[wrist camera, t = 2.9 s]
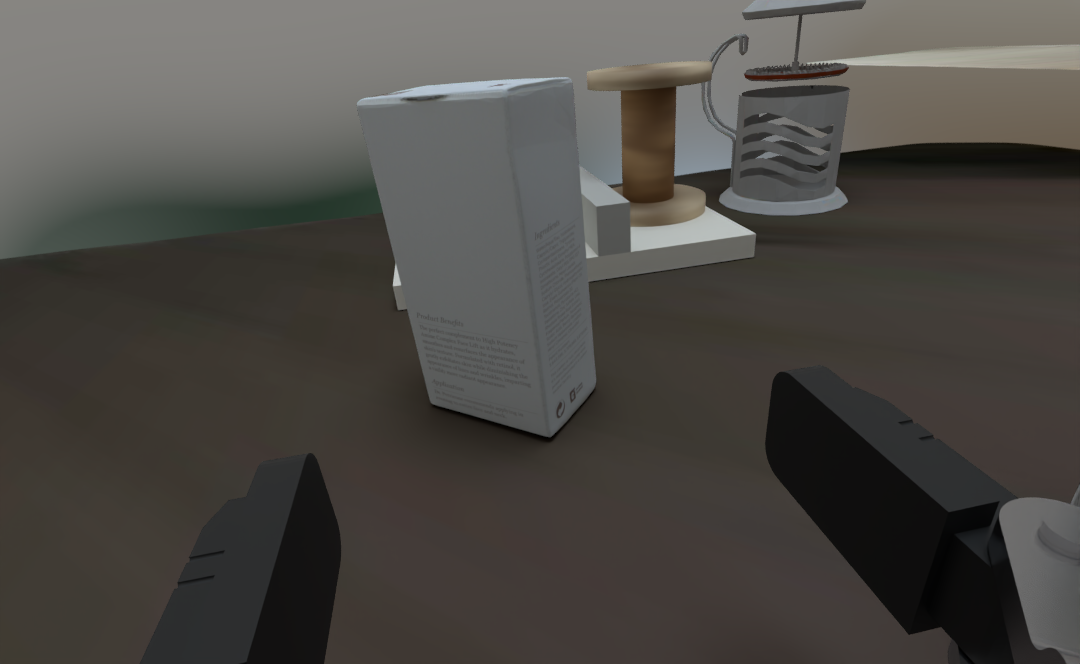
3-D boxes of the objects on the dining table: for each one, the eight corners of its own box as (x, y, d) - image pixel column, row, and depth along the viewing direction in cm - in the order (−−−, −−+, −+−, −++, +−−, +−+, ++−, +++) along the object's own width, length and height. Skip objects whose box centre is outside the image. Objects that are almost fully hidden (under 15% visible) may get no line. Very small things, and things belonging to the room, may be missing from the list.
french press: (841, 219, 41) (916, -254, 29) (681, 209, 46) (693, -191, 35) (853, 186, 48) (917, -202, 37) (715, 181, 54) (733, -157, 42)
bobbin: (678, 191, 45) (681, 60, 41) (725, 217, 38) (735, 61, 34) (581, 204, 44) (574, 71, 40) (611, 233, 37) (606, 75, 33)
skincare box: (600, 386, 24) (586, 71, 18) (548, 448, 21) (512, 86, 15) (481, 359, 27) (439, 80, 21) (418, 410, 24) (349, 94, 18)
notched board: (668, 204, 48) (669, 149, 46) (753, 256, 36) (760, 184, 34) (404, 239, 45) (393, 182, 43) (398, 310, 33) (381, 235, 31)
